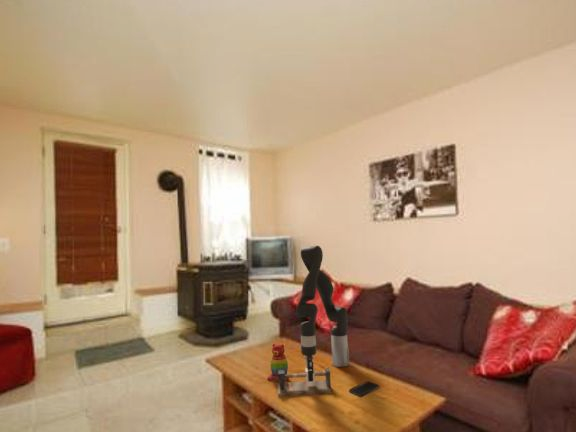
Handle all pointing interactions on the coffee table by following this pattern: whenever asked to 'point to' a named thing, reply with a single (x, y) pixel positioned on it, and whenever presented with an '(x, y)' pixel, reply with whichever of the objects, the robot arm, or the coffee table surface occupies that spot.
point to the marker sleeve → (307, 375)
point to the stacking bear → (278, 362)
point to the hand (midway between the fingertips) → (310, 378)
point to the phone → (364, 388)
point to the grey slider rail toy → (303, 385)
